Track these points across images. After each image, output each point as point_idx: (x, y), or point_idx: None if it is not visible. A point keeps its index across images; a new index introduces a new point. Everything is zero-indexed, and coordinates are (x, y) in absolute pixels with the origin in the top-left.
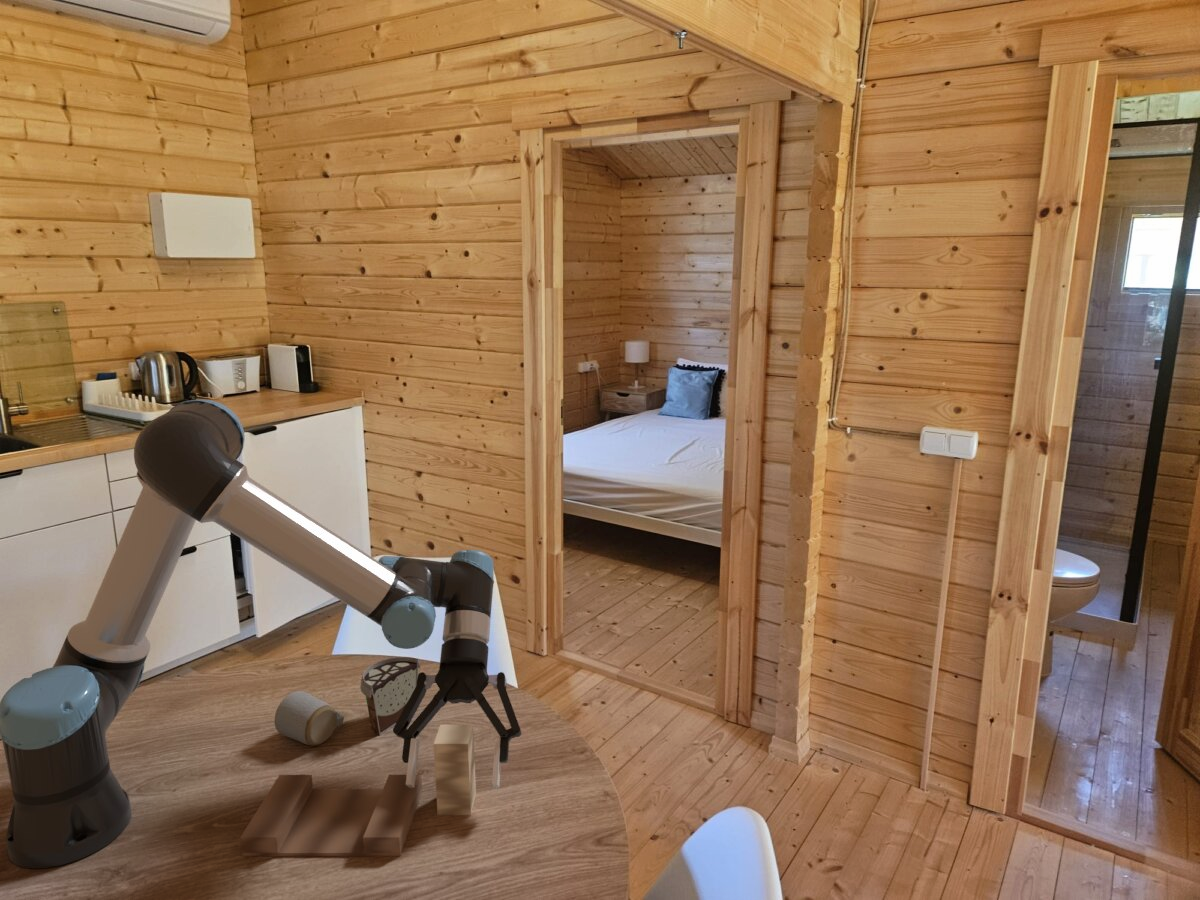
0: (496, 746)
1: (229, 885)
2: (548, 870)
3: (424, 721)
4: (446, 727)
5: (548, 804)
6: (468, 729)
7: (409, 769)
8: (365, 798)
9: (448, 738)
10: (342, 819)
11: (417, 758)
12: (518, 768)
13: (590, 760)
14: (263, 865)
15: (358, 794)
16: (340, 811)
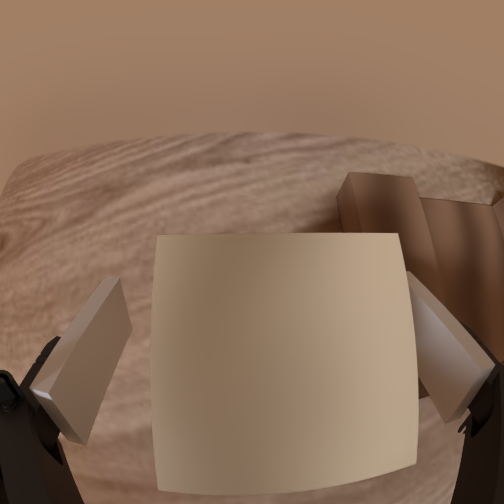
0: (56, 362)
1: (494, 169)
2: (73, 178)
3: (492, 455)
4: (370, 444)
5: None
6: (179, 432)
7: (426, 294)
8: None
9: (321, 300)
10: (468, 280)
11: (421, 377)
12: (127, 488)
13: None
14: (491, 194)
15: None
16: (479, 301)
